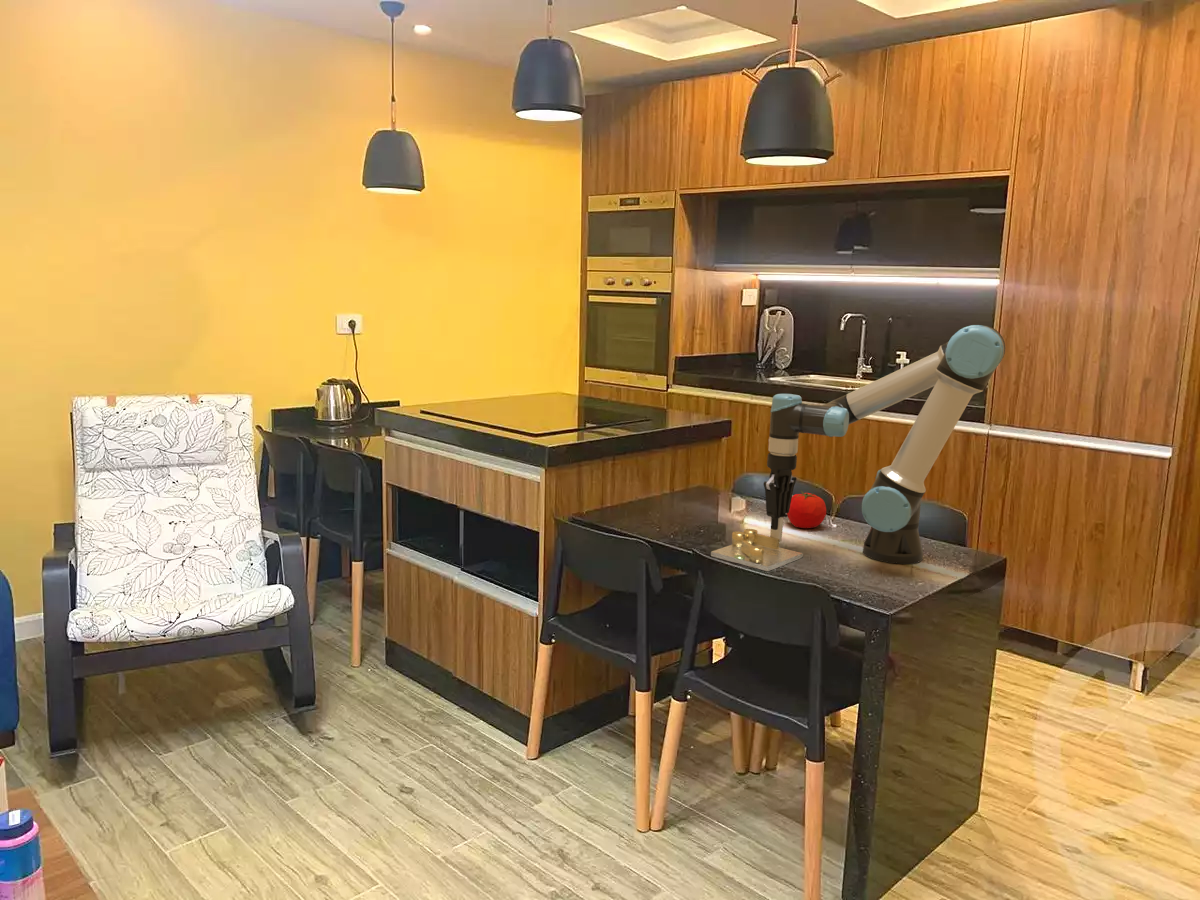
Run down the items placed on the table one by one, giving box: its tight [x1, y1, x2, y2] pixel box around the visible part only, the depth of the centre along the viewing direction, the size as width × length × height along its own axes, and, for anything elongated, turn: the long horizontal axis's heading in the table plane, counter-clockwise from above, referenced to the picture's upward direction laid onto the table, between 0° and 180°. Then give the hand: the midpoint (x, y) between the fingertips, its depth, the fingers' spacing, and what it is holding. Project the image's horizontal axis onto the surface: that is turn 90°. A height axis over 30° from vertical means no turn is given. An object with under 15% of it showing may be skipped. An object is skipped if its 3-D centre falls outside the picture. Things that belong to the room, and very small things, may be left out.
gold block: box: [743, 528, 780, 549], centre depth 237 cm, size 10×4×3 cm, turn 48°
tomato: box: [786, 490, 827, 529], centre depth 263 cm, size 12×12×10 cm
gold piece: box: [741, 541, 764, 563], centre depth 226 cm, size 10×4×3 cm, turn 13°
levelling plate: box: [710, 530, 804, 572], centre depth 231 cm, size 17×17×4 cm
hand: (775, 540), depth 237 cm, fingers closed
